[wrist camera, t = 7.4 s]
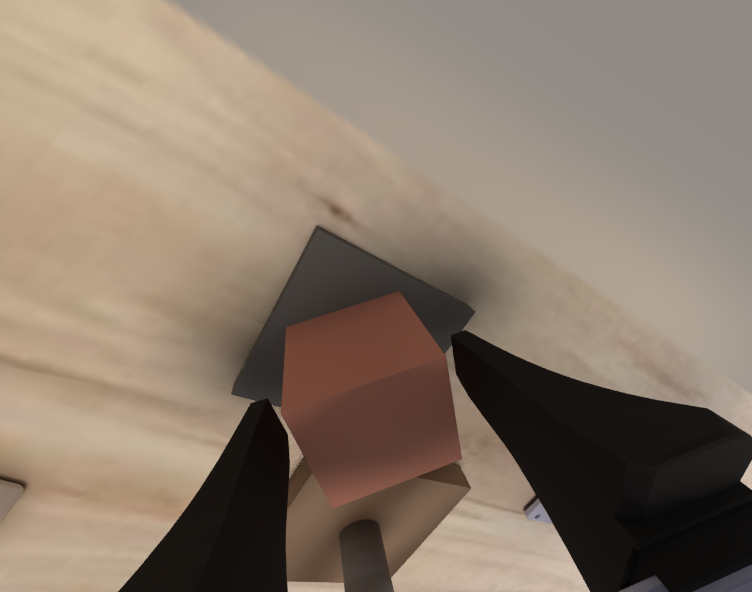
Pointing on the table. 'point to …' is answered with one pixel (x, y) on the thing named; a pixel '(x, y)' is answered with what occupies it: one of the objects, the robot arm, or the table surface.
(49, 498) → the table surface
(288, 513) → the post block
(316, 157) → the table surface
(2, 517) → the medicine bottle
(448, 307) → the mat
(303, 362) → the terracotta cube
